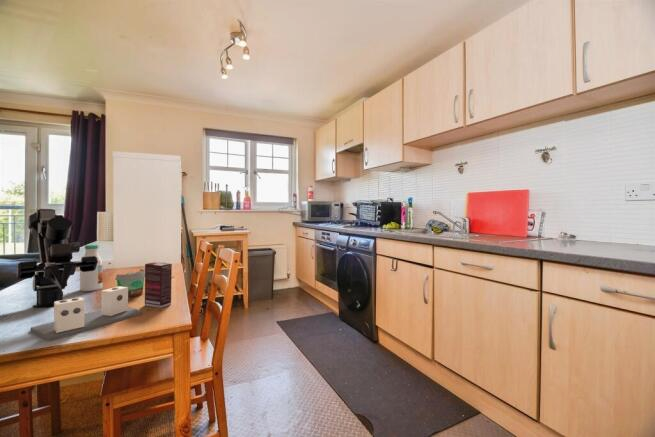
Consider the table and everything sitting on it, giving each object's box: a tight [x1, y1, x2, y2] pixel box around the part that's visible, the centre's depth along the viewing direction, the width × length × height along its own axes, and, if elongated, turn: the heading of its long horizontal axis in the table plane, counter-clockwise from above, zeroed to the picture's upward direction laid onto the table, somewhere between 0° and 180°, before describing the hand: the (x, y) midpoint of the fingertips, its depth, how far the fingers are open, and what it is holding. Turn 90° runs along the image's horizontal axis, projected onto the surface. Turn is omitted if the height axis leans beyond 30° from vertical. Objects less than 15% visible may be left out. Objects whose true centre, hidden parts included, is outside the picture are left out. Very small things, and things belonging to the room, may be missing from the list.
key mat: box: [30, 306, 143, 342], centre depth 90 cm, size 24×13×1 cm, turn 152°
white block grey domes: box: [53, 296, 85, 333], centre depth 82 cm, size 4×6×8 cm
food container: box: [115, 269, 145, 299], centre depth 118 cm, size 12×6×10 cm, turn 168°
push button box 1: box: [100, 286, 129, 316], centre depth 95 cm, size 4×6×8 cm
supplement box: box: [144, 261, 173, 309], centre depth 107 cm, size 9×5×16 cm, turn 71°
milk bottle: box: [79, 244, 104, 292], centre depth 125 cm, size 8×8×20 cm
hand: (63, 288), depth 88 cm, fingers closed
